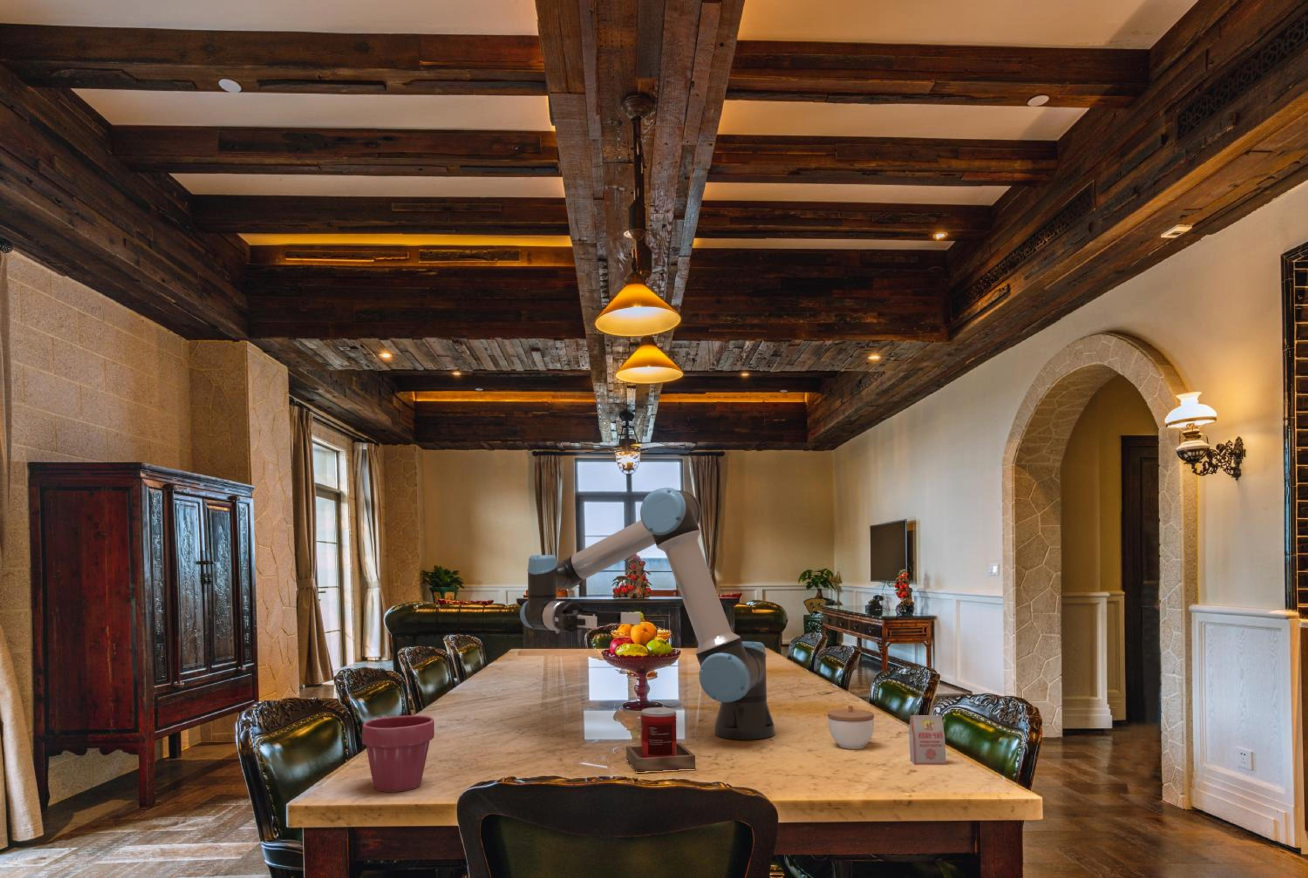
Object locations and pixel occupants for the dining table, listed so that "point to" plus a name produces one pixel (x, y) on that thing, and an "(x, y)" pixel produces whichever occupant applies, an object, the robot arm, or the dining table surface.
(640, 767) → the walnut tray
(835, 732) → the lidded jar
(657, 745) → the canned food
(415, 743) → the plant pot
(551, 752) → the dining table surface
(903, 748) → the dining table surface
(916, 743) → the white tea box
